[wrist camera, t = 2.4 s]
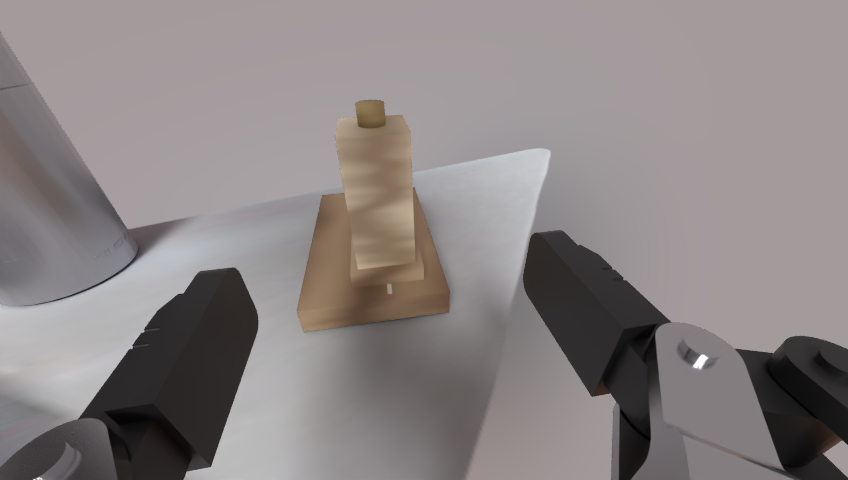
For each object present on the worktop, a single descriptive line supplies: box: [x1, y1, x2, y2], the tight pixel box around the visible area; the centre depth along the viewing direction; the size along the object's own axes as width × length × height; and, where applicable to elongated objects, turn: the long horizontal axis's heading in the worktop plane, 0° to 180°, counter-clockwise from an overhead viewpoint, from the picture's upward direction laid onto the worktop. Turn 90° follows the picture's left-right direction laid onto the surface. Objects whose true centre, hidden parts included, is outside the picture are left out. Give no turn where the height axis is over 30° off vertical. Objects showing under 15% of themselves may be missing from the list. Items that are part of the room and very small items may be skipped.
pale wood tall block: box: [335, 100, 424, 288], centre depth 21 cm, size 5×6×11 cm
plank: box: [297, 187, 450, 332], centre depth 28 cm, size 10×17×2 cm, turn 10°
